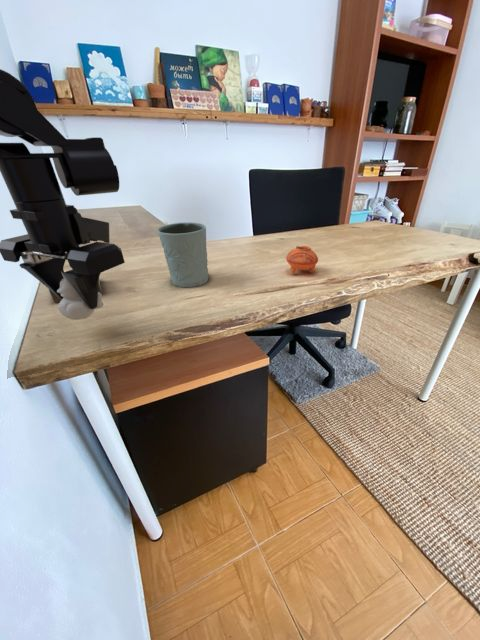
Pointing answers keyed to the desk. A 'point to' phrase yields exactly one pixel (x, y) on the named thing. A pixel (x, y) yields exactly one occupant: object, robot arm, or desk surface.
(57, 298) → the memo paper holder
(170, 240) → the grey green cup
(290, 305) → the desk surface
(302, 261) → the pot
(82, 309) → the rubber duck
